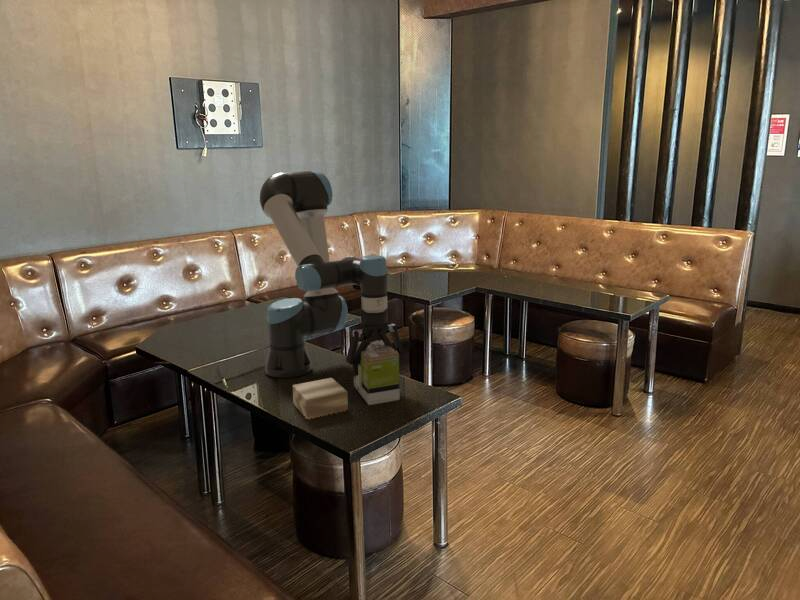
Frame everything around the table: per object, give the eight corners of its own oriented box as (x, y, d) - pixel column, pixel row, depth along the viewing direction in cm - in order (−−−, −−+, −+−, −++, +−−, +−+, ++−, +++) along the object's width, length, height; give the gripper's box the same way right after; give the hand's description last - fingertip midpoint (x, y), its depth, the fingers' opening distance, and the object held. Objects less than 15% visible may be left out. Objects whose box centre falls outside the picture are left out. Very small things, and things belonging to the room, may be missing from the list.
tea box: (352, 387, 185) (351, 341, 181) (383, 382, 188) (382, 337, 185) (367, 406, 171) (366, 356, 168) (400, 400, 175) (400, 352, 171)
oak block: (293, 404, 174) (292, 385, 172) (332, 396, 179) (331, 377, 177) (307, 420, 163) (306, 399, 162) (348, 411, 169) (347, 391, 167)
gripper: (342, 318, 165) (344, 393, 170) (415, 307, 175) (415, 378, 181) (332, 311, 172) (335, 384, 177) (403, 301, 182) (404, 370, 187)
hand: (375, 381), depth 179 cm, fingers closed on tea box, 10 cm apart
